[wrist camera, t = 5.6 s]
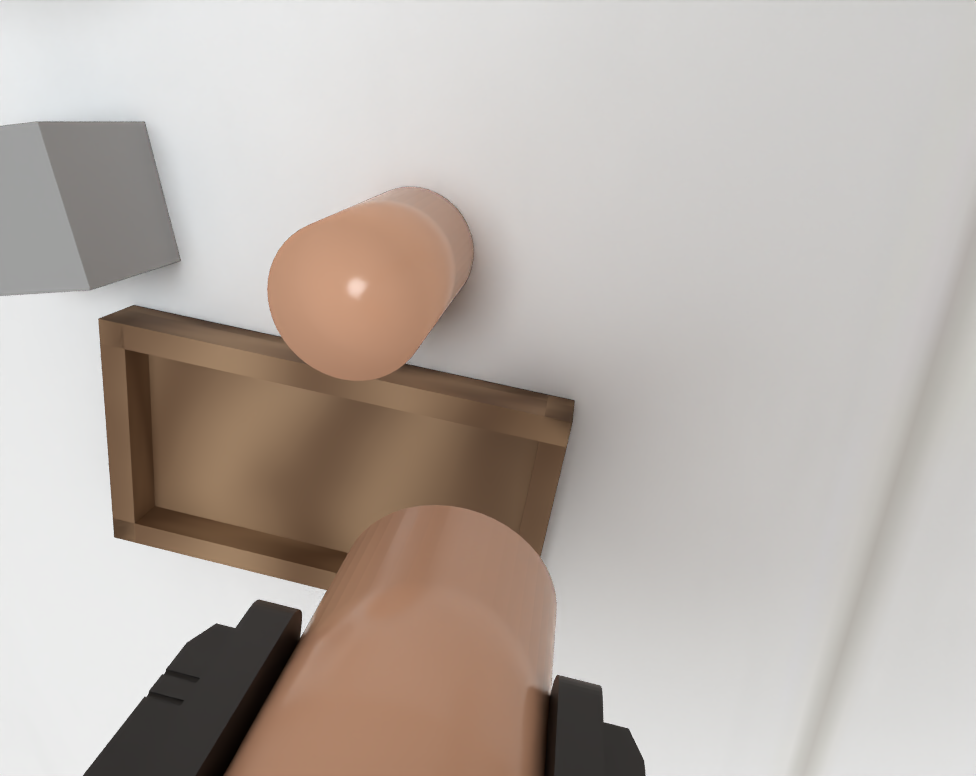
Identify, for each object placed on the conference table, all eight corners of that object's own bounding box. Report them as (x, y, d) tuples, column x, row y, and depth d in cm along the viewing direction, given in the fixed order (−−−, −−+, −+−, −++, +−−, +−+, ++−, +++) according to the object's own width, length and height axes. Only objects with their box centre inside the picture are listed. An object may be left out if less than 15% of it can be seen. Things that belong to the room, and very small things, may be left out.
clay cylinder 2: (580, 536, 12) (570, 988, 6) (530, 705, 14) (480, 1195, 8) (354, 481, 13) (108, 856, 6) (332, 653, 14) (122, 1085, 8)
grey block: (146, 121, 24) (37, 121, 19) (182, 260, 26) (90, 290, 21) (27, 135, 25) (-104, 138, 20) (69, 268, 26) (-42, 298, 22)
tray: (574, 400, 25) (572, 422, 23) (525, 605, 29) (520, 638, 27) (133, 305, 26) (98, 318, 25) (143, 512, 30) (114, 537, 29)
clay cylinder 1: (481, 198, 23) (436, 235, 16) (465, 318, 25) (419, 394, 18) (358, 177, 23) (267, 206, 17) (351, 297, 25) (267, 364, 19)
